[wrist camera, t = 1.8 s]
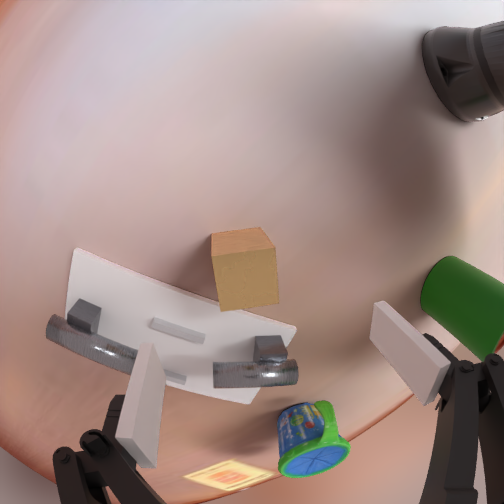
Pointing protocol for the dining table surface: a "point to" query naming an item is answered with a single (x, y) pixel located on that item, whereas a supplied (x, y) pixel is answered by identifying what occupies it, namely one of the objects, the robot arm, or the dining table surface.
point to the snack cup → (309, 440)
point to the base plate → (170, 323)
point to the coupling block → (244, 269)
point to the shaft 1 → (89, 337)
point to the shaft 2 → (258, 367)
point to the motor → (466, 305)
